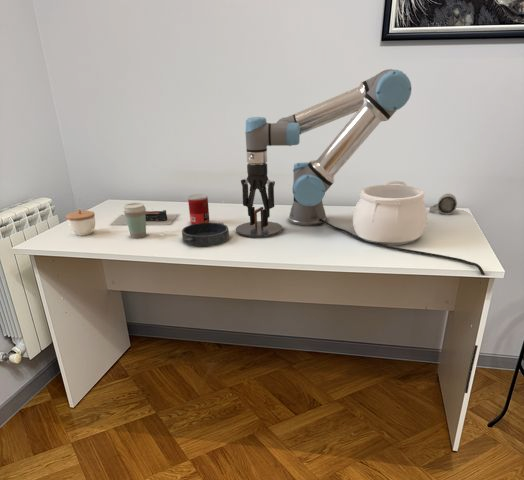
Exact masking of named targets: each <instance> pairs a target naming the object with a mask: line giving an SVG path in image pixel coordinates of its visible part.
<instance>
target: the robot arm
mask: <svg viewBox="0 0 524 480" xmlns="http://www.w3.org/2000/svg"><path fill="white" fill-rule="evenodd" d="M411 95H412V83H411V80H410V78H409V76H407V74H406V73H404V71H402V70H398V69H392V68H391V69H390V68H389V69H384V70H382V71H380V72H379V73H377V74H376V75H374V76H371V77H370V78H368V79H366V80H364V81H361V82H360V84H359V85H358V86H357V87H355V88H352V89H350V90H348V91H347V90H346V91H345V92H342V93H340V94H338V95H335V96H334V97H331V98H328V99H326V100H325V101H322V102H319V103H317V104H315V105H312V106H310V107H308V108H305V109H303V110H300V111H298V112H295V113H294V114H291V115H288V116H286V117H281V118H280V119H278V121H277V122H273V123H272V122H271V123H270V122H267V118H266V117H264V116H251V117H247V119H245V132H244V133H245V145H246V146H245V149H246V163H247V164H246V169H247V170H246V172H247V177H246V178H243V179H241V180H240V184H241V187H242V191H241V192H242V205H243V207H246V208H247V216H248V217H249V222H250V225H253V224H255V213H254V211H255V210H256V208H255V206H254V201H255V196H256V192H257V190H258V192H259V193H260V196H261V200H262V204H263V208H264V209H263V227H266V226H267V225H268V222H269V218H270V217H271V212H270V211H271V209H273V208H275V185H276V184H275V183H276V182H275V181H274V180H270V179H269V177H268V163H267V162H268V147H271V146H280V147H281V146H283V147H284V146H287V147H288V146H289V147H292V146H298V145H299V144H300V143H301V142H300V136H301V135H302V134H305V133H307V132H310V131H312V130H314V129H317V128H319V127H322V126H324V125H326V124H327V125H328V124H330V123H332V122H335V121H337V120H339V119H342V118H344V117H346V116H349V115H351V114H353V116H352V117H351V118H350V119H349V121H347V123H346V124H345V125H344V126H343V128H342V129H341V130H340V131H339V133H337V135H336V136H335V137H334V139H333V140H332V141H331V142H330V143H329V145H328V146H326V148H325V150H324V151H323V152H322V153H321V154H320V156H319V157H318V158H317V159H315V160H309V162H308V161H307V162H306V161H305V162H296V163H294V165H293V169H292V172H293V183H292V195H293V203H292V206H291V208H290V212H289V216H288V221H289V223H291V224H293V225H296V226H305V227H307V226H309V227H310V226H318V225H322V224H325V225H326V226H328V227H330V228H332V229H333V230H337V231H339V232H343V233H345V234H347V235H349V236H351V237H353V238H354V239H357V240H359V241H361V242H364V243H367V244H370V245H373V246H375V247H376V246H377V247H381V248H385V249H389V250H395V251H399V252H406V253H411V254H418V255H424V256H429V257H434V258H441V259H445V260H450V261H454V262H460V263H463V264H465V265H469V266H473V267H475V268H477V270H478V271H479V273H480V275H481V276H485V274H486V273H485V271H484V269H483V268H482V267H481V265H479V264H478V263H476V262H472V261H469V260H465V259H463V258H459V257H453V256H449V255H444V254H439V253H432V252H427V251H422V250H421V251H420V250H415V249H408V248H403V247H398V246H393V245H383V244H379V243H375V242H370V241H366V240H364V239H362V238H360V237H359V236H358V235H357V234H353V233H352V232H350V231H348V230H346V229H343V228H341V227H338V226H335V225H334V224H331V223H329V222H328V221H327V214H326V211H325V207H324V203H323V199H324V197H325V195H326V192H327V191H328V190H329V189H330V188H331V187H332V185H333V184H334V183H335V176H336V174H337V173H338V172H339V171H340V170H341V169H342V167H344V165H345V164H346V163H347V162H348V160H349V159H350V158H351V157H352V156H353V155H354V154H355V152H356V151H357V150H358V149H359V148H360V147H361V145H362V144H363V143H364V142H365V141H366V140H367V138H368V137H370V135H371V134H372V133H373V132H374V130H376V128H377V127H378V126H379V125H380V124H381V123H382V122H388V121H389V120H390V119H391V118H392V117H393V115H394V114H395V113H396V112H397V111H398V110H400V109H402V108H403V107H404V106H406V104H407V103H408V101H409V100H410V98H411ZM478 346H479V345H477V344H474V347H473V348H474V349H473V351H472V355H471V360H470V365H469V369H468V373H467V378H466V382H465V389H464V393H465V394H468V393H469V387H470V382H471V379H472V377H471V376H472V373H473V368H474V365H475V360H476V355H477V351H478V348H479V347H478Z"/></svg>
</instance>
